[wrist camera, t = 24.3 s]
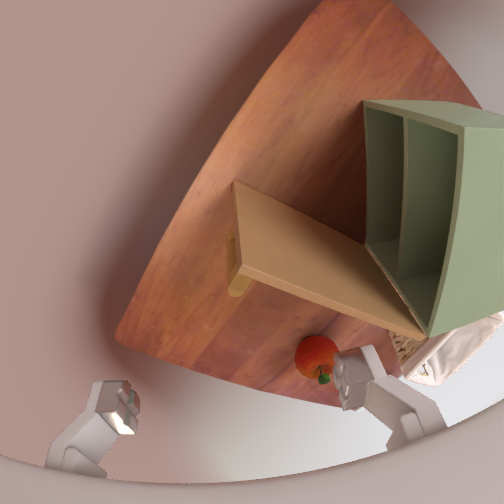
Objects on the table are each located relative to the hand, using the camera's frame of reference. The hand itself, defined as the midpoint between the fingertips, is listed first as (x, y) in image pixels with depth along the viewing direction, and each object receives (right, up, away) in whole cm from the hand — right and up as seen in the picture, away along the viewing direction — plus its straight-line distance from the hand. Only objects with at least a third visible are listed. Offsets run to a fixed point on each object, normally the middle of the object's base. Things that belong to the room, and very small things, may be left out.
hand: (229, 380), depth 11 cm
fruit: (+14, -15, +56) cm, 59 cm away
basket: (+43, -8, +54) cm, 70 cm away
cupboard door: (+8, +8, +41) cm, 43 cm away
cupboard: (+28, +18, +37) cm, 50 cm away
